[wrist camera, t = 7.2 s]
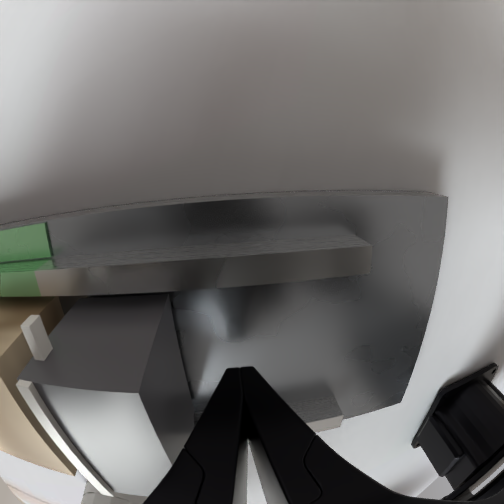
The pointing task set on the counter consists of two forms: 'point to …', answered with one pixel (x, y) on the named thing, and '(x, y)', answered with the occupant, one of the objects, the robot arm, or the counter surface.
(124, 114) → the counter surface
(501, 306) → the counter surface
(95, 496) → the cup
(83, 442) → the plunger
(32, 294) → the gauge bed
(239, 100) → the counter surface
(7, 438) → the block
